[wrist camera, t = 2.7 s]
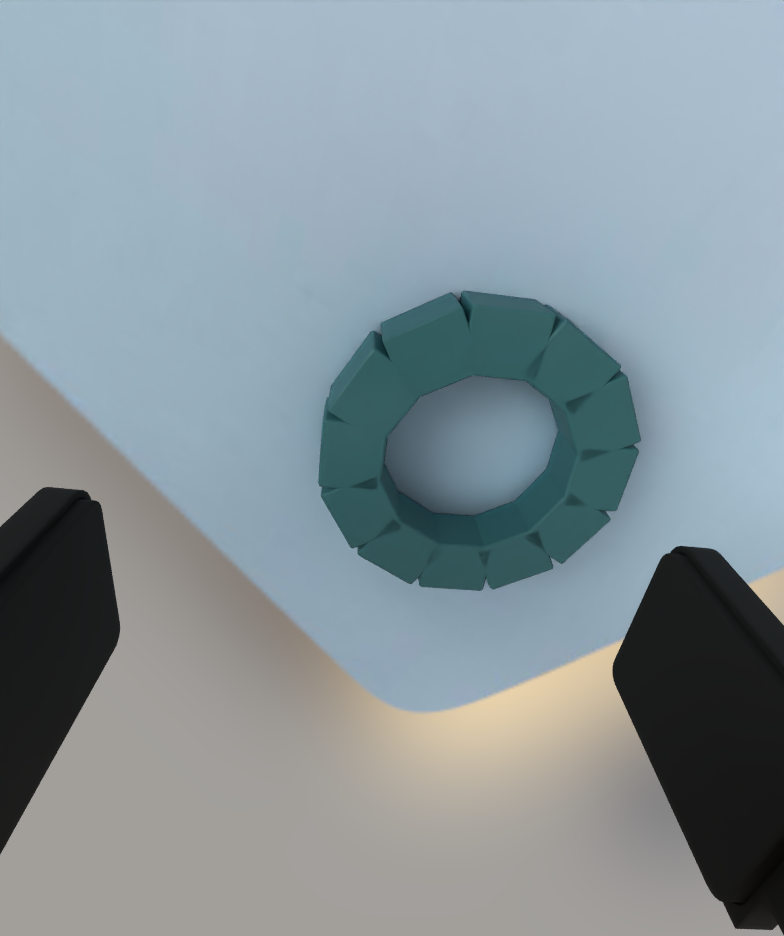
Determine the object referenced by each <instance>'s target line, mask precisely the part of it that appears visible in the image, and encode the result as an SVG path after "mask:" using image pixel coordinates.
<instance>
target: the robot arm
mask: <svg viewBox="0 0 784 936" xmlns="http://www.w3.org/2000/svg"><path fill="white" fill-rule="evenodd" d="M119 633H120V621H119V615H118V608H117V602H116V596H115V590H114V584H113V577H112V570H111V564H110V558H109V551H108V545H107V539H106V532H105V526H104V520H103V513H102V508H101V505H100V503H99V502H97V501H93V500H91V498H90V496H89V494H88V493H87V492H85V491H84V490H73V489H64V488H53V487H45V488H42V489H41V490H39V491H38V492H37V493H36V494H35V495H34V496H33V497H32V498H31V499H30V500H28V502H26V503H25V504H24V505H23V506H22V507H21V508H20V509H19V510H18V511H17V512H16V513H15V514H14V515H13V516H11V517H10V519H8V520H7V521H6V522H5V523H4V524H3V525H2V526H1V527H0V854H1V852H2V850H3V848H4V847H5V845H6V843H7V841H8V839H9V838H10V836H11V834H12V832H13V830H14V829H15V827H16V825H17V823H18V822H19V820H20V818H21V816H22V814H23V812H24V811H25V809H26V807H27V805H28V803H29V802H30V800H31V798H32V796H33V795H34V793H35V791H36V789H37V787H38V786H39V784H40V782H41V780H42V778H43V776H44V775H45V773H46V771H47V769H48V768H49V766H50V764H51V762H52V760H53V759H54V757H55V755H56V753H57V751H58V749H59V747H60V746H61V744H62V742H63V741H64V739H65V737H66V735H67V733H68V732H69V730H70V728H71V726H72V724H73V722H74V721H75V719H76V717H77V715H78V714H79V712H80V710H81V708H82V706H83V705H84V703H85V701H86V699H87V697H88V696H89V694H90V692H91V690H92V688H93V687H94V685H95V683H96V681H97V680H98V678H99V676H100V674H101V672H102V671H103V669H104V667H105V665H106V663H107V662H108V660H109V658H110V656H111V654H112V653H113V651H114V649H115V647H116V645H117V642H118V638H119ZM613 678H614V682H615V685H616V687H617V690H618V692H619V694H620V696H621V698H622V700H623V702H624V705H625V707H626V709H627V711H628V714H629V716H630V718H631V720H632V722H633V725H634V726H635V729H636V731H637V733H638V735H639V738H640V740H641V742H642V744H643V746H644V749H645V751H646V753H647V755H648V757H649V759H650V762H651V764H652V766H653V768H654V770H655V773H656V775H657V777H658V779H659V781H660V784H661V786H662V788H663V790H664V792H665V794H666V796H667V799H668V801H669V803H670V805H671V808H672V810H673V812H674V814H675V816H676V818H677V821H678V823H679V825H680V827H681V829H682V832H683V834H684V836H685V838H686V840H687V842H688V845H689V847H690V849H691V851H692V853H693V856H694V857H695V860H696V862H697V864H698V867H699V869H700V871H701V873H702V875H703V877H704V880H705V882H706V884H707V886H708V887H709V889H710V891H711V893H712V894H713V895H714V896H715V897H716V898H717V899H718V900H719V901H722V902H723V903H724V905H725V907H726V910H727V912H728V914H729V916H730V918H731V920H732V922H733V925H734V927H735V928H737V929H762V930H773V929H774V928H775V927H776V926H777V925H779V927H780V929H781V930H782V932H783V934H784V625H783V624H782V623H781V622H780V621H779V620H778V619H777V617H776V616H775V615H774V614H773V613H772V612H771V611H770V609H769V608H768V607H767V606H766V605H765V604H764V603H763V602H762V600H761V599H760V598H759V597H758V596H757V595H756V594H755V593H754V591H753V590H752V589H751V588H750V587H749V586H748V585H747V584H746V582H745V581H744V580H743V579H742V578H741V577H740V576H739V575H738V573H737V572H736V571H735V570H734V569H733V568H732V567H731V566H730V564H729V563H728V562H727V561H726V560H725V559H724V558H723V557H722V555H721V554H720V553H718V552H717V551H716V550H713V549H708V548H697V547H687V546H678V547H676V548H674V549H673V550H672V551H671V553H668V554H665V555H664V556H663V557H662V558H661V560H660V562H659V564H658V566H657V568H656V570H655V573H654V575H653V577H652V579H651V581H650V584H649V586H648V588H647V590H646V592H645V595H644V597H643V599H642V601H641V603H640V606H639V608H638V610H637V612H636V614H635V616H634V619H633V621H632V623H631V625H630V627H629V630H628V632H627V634H626V636H625V638H624V641H623V643H622V645H621V647H620V649H619V652H618V654H617V656H616V658H615V660H614V663H613Z"/></svg>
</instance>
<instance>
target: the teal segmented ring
mask: <svg viewBox="0 0 784 936" xmlns="http://www.w3.org/2000/svg"><path fill="white" fill-rule="evenodd" d="M381 332H382V336H381V335H379V334H378V333H377V332H375V331H372V332H370V334H369V335H368V336H367V338H366V339H365V341H364V342H363V343H362V345H361V346H360V347H359V349H358V350H357V351H356V353H355V354H354V356H353V357H352V358H351V360H350V361H349V362H348V364H347V365H346V366H345V368H344V369H343V371H342V372H341V373H340V375H339V376H338V377H337V379H336V380H335V381H334V383H333V384H332V385H331V389H330V395H329V397H328V398H327V400H326V404H325V410H324V416H323V423H322V437H321V452H320V466H319V481H318V483H319V486H321V487H322V491H321V497H322V499H323V501H324V502H325V504H326V506H327V508H328V509H329V511H330V513H331V515H332V516H333V518H334V520H335V521H336V523H337V525H338V527H339V528H340V530H341V532H342V534H343V535H344V537H345V539H346V540H347V542H348V544H349V546H350V547H351V548H355V547H358V555H359V556H361V557H363V558H364V559H366V560H368V561H370V562H372V563H373V564H375V565H377V566H379V567H380V568H382V569H384V570H386V571H387V572H389V573H391V574H393V575H395V576H396V577H398V578H400V579H402V580H403V581H405V582H407V583H409V584H412V583H413V582H414V581H415V580H416V579H417V578H418V581H419V585H420V586H421V587H432V588H447V589H462V590H477V591H481V590H482V589H483V587H484V583H485V579H487V582H488V584H489V586H490V588H491V589H496V588H499V587H502V586H504V585H507V584H510V583H513V582H516V581H519V580H522V579H525V578H528V577H531V576H534V575H537V574H539V573H542V572H545V571H548V570H551V569H553V564H552V561H551V558H550V557H552V558H553V559H555V560H556V561H558V562H559V563H561V564H562V563H564V562H565V561H566V560H567V559H568V558H569V557H570V556H571V555H572V554H574V553H575V552H576V551H577V550H578V549H579V548H580V547H581V546H582V545H584V544H585V543H586V542H587V541H588V540H589V539H590V538H591V537H592V536H594V535H595V534H596V533H597V532H598V531H599V530H600V529H601V528H602V527H603V526H605V525H606V524H607V523H608V522H609V521H610V517H609V516H608V514H607V513H606V511H616V510H617V508H618V505H619V503H620V500H621V497H622V495H623V492H624V490H625V487H626V484H627V482H628V479H629V477H630V474H631V471H632V469H633V466H634V464H635V461H636V458H637V456H638V453H639V450H638V449H637V448H636V447H635V446H634V445H633V444H635V443H638V442H640V441H641V438H640V434H639V429H638V424H637V420H636V415H635V410H634V406H633V401H632V396H631V392H630V387H629V382H628V378H627V376H626V375H625V374H624V373H623V372H621V371H620V368H621V366H620V364H619V363H617V362H616V361H615V360H614V359H613V358H612V357H611V356H609V355H608V354H607V353H606V352H605V351H604V350H603V349H601V348H600V347H599V346H598V345H597V344H596V343H594V342H593V341H592V340H591V339H590V338H589V337H588V336H586V335H585V334H584V333H583V332H582V331H581V330H579V329H578V328H577V327H576V326H575V325H574V324H573V323H571V322H570V321H569V320H568V319H567V318H565V317H564V316H562V315H561V314H560V313H558V312H557V311H556V310H554V309H553V308H552V307H550V306H549V305H545V306H543V305H542V304H541V303H539V302H538V301H537V300H535V299H527V298H519V297H511V296H503V295H494V294H486V293H478V292H470V291H463V292H462V294H461V299H460V303H459V302H458V300H457V299H456V298H455V296H454V295H453V293H448V294H446V295H444V296H442V297H439V298H437V299H435V300H432V301H430V302H428V303H426V304H423V305H421V306H419V307H416V308H414V309H412V310H409V311H407V312H405V313H403V314H400V315H398V316H396V317H393V318H391V319H389V320H387V321H384V322H382V323H381ZM472 375H475V376H485V377H494V378H503V379H513V380H522V381H526V382H528V383H529V384H530V385H532V386H533V387H534V388H535V389H537V390H538V391H539V392H540V393H542V394H543V395H544V396H546V397H547V398H548V399H549V401H550V404H551V408H552V411H553V414H554V418H555V421H556V425H557V428H558V433H557V436H556V440H555V443H554V446H553V450H552V453H551V457H550V460H549V463H548V467H547V469H546V470H545V471H544V472H543V473H542V474H541V475H540V476H539V477H538V478H537V479H536V480H535V481H534V482H533V483H532V484H531V485H530V486H529V487H528V488H527V489H526V490H525V491H524V492H523V493H522V494H521V495H520V496H519V497H518V498H517V499H516V500H515V501H514V502H511V503H508V504H505V505H503V506H500V507H497V508H495V509H492V510H489V511H486V512H484V513H481V514H478V515H475V516H465V515H453V514H441V513H432V512H430V511H429V510H427V509H426V508H424V507H422V506H421V505H419V504H418V503H416V502H414V501H413V500H411V499H410V498H408V497H407V496H405V495H403V494H402V493H400V492H399V491H398V490H397V488H396V486H395V484H394V482H393V480H392V478H391V476H390V474H389V472H388V470H387V468H386V466H385V464H384V460H385V452H386V445H387V437H388V435H389V434H390V433H391V432H392V430H393V429H394V428H395V427H396V426H397V424H398V423H399V422H400V421H401V420H402V418H403V417H404V416H405V415H406V413H407V412H408V411H409V410H410V409H411V407H412V406H413V405H414V404H415V402H416V401H417V400H418V399H419V398H420V397H421V396H423V395H426V394H428V393H431V392H433V391H435V390H438V389H440V388H443V387H445V386H448V385H450V384H453V383H455V382H457V381H460V380H462V379H465V378H467V377H470V376H472Z"/></svg>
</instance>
